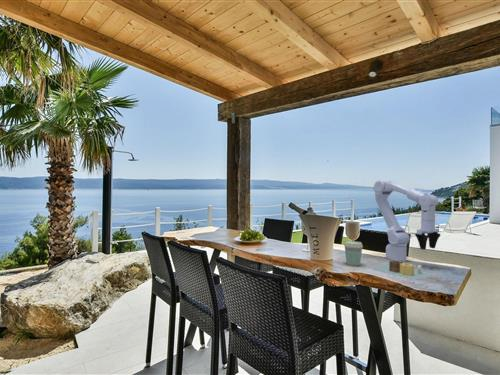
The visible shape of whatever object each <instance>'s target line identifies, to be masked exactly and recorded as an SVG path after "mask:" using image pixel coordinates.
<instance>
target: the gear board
mask: <svg viewBox="0 0 500 375" xmlns="http://www.w3.org/2000/svg"><path fill="white" fill-rule="evenodd" d="M368 268H370V269H373V270H376V271H379V272H382V273H386V274H391V275H394V276H398V277H400V278H404V279H409V280H411V281H415V280H416V281H417V280H420V279H421V280H422V279H425V278H430V277H436V276H437V274H432V273H429V272H426V271H422V265H420V264H417V269H414V275H411V276H409V275H402V274H401V273H400V272H392V271H389V263H386V264H380V265H379V264H378V265H374V266H373V265H372V266H368Z"/></svg>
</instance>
